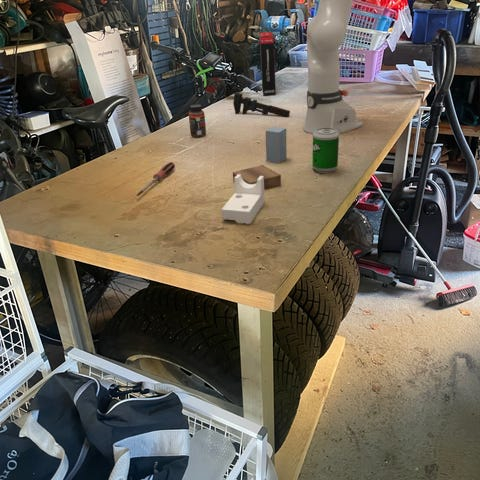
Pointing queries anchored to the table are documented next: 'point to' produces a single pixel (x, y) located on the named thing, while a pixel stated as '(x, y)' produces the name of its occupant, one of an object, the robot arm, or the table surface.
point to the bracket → (244, 201)
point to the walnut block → (255, 172)
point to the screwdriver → (160, 175)
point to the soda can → (325, 150)
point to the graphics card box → (267, 63)
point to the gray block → (276, 145)
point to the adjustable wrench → (256, 106)
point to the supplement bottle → (197, 121)
